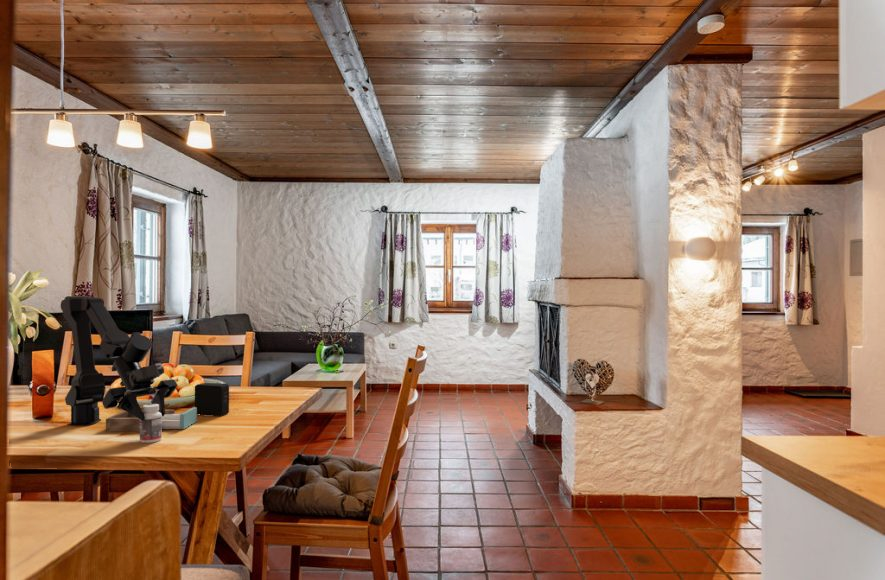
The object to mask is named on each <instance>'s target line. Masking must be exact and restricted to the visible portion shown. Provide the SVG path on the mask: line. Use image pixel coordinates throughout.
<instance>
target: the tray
mask: <svg viewBox="0 0 885 580" xmlns="http://www.w3.org/2000/svg"><path fill="white" fill-rule="evenodd" d="M197 416H198V415H197V407H195V406H194V407H192V408H190V409H188V410H185V411H184V412H182V413H174V414H165V415H164V416H162V430H185V429H187V428H189V427H190V426H191V424H192V425H194V424H195V423H197V422H198V417H197ZM188 426H189V427H188Z"/></svg>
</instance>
